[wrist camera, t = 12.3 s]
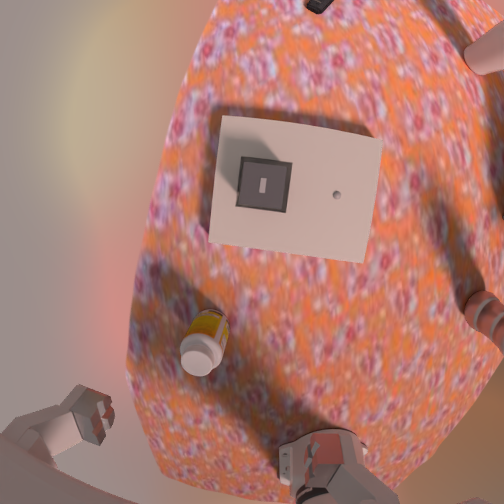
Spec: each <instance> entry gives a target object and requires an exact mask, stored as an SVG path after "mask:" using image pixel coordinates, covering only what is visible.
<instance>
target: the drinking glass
mask: <svg viewBox="0 0 504 504" xmlns="http://www.w3.org/2000/svg"><path fill="white" fill-rule="evenodd" d="M464 59H465V61H466V63H467V65H468V67H469V68H470V69H471V70H472V71H473V72H474V73H476V74H478V75H486V74H489V73H492V72H497V71H501V70H504V20H503V21H501V22H500V23H498V24H497V25H495V26H494V27H493V28H491V29H490V30H489V31H488V32H486V33H485V34H484V35H483V36H481V37H480V38H479V39H477V40H476V41H475V42H473V43H472V44H471V45H469V46H467V47H466V48H465V50H464Z"/></svg>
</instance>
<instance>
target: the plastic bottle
mask: <svg viewBox="0 0 504 504" xmlns="http://www.w3.org/2000/svg"><path fill="white" fill-rule="evenodd" d="M465 319H466V321H467V323H468V324H469V326H470V327H471V328H473V329H475V330H476V331H478V332H481V333H482V334H484V335H485V336H486V337H488V338H489V339H490V340H491V341H492V342H493V343H494V344H495V345H496V346H497V347H498V348H499V350H500V351H501V352H502V354H503V355H504V305H503V304H502V303H501V302H500V301H499V299H498V298H497V297H496V296H495V295H494V294H493V293H491V292H488V291H479V292H477V293H475V294H473V295H472V296H471V297H470V298H469V300H468V302H467V304H466V306H465Z"/></svg>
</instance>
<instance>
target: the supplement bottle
mask: <svg viewBox="0 0 504 504" xmlns="http://www.w3.org/2000/svg"><path fill="white" fill-rule="evenodd" d="M229 332H230V324H229V321H228V319H227V318H226V316H225V315H223V314H222V313H221V312H219V311H216V310H212V309H208V310H203V311H201V312H199V313H198V314H197V315H196V317H195V318H194V320H193V322H192V324H191V326H190V327H189V329H188V331H187V333H186V335H185V337H184V339H183V341H182V343H181V345H180V354H181V365H182V367H183V368H184V370H185V371H187V372H188V373H189V374H191V375H194V376H205V375H207V374H209V373H210V372H211V370H212V369H214V368H216V367H217V366H218V365H219V364H220V362H221V360H222V357H223V354H224V350H225V347H226V343H227V339H228V336H229Z"/></svg>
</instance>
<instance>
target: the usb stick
mask: <svg viewBox="0 0 504 504" xmlns="http://www.w3.org/2000/svg"><path fill="white" fill-rule="evenodd" d="M333 1H334V0H310V1H309V2H308V3H307V9H308V10H310V11H312V12H314V13H316V14H321V13H323V12H324V10H325V9H326V8H327V7H328V6H329V5H330V4H331V3H332V2H333Z"/></svg>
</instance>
